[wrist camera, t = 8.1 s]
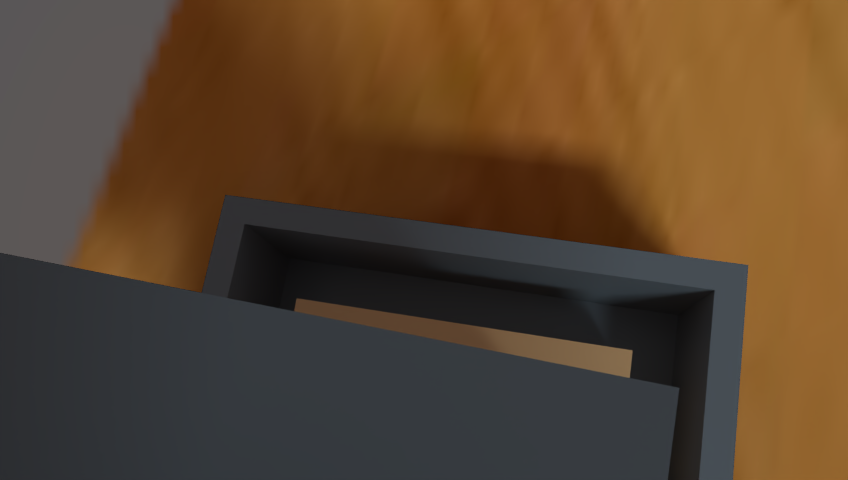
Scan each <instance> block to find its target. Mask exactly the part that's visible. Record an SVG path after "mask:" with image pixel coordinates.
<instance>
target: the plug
mask: <svg viewBox="0 0 848 480" xmlns="http://www.w3.org/2000/svg"><path fill="white" fill-rule="evenodd" d="M678 395H679V388H678V387H673V386H668V385H663V384H658V383H653V382H648V381H643V380H638V379H633V378H627V377H622V376H617V375H612V374H607V373H602V372H597V371H592V370H587V369H582V368H577V367H572V366H567V365H562V364H557V363H552V362H547V361H542V360H537V359H532V358H527V357H522V356H517V355H512V354H507V353H502V352H497V351H492V350H487V349H482V348H476V347H471V346H466V345H461V344H456V343H451V342H446V341H441V340H436V339H431V338H426V337H421V336H416V335H411V334H406V333H401V332H396V331H391V330H386V329H381V328H376V327H371V326H366V325H361V324H356V323H351V322H346V321H341V320H336V319H331V318H325V317H320V316H315V315H310V314H305V313H300V312H295V311H290V310H285V309H280V308H275V307H270V306H265V305H260V304H255V303H250V302H245V301H240V300H235V299H230V298H225V297H220V296H215V295H210V294H205V293H200V292H195V291H190V290H185V289H180V288H175V287H169V286H164V285H159V284H154V283H149V282H144V281H139V280H134V279H129V278H124V277H119V276H114V275H109V274H104V273H99V272H94V271H89V270H84V269H79V268H74V267H69V266H64V265H59V264H54V263H48V262H43V261H38V260H34V259H29V258H24V257H18V256H13V255H8V254H3V253H0V480H668V473H669V466H670V458H671V450H672V442H673V434H674V426H675V419H676V411H677V403H678Z"/></svg>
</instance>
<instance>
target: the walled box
mask: <svg viewBox="0 0 848 480" xmlns="http://www.w3.org/2000/svg"><path fill="white" fill-rule="evenodd" d="M747 274H748V265H743V264H736V263H728V262H721V261H713V260H706V259H698V258H691V257H683V256H676V255H669V254H661V253H654V252H646V251H639V250H631V249H624V248H617V247H609V246H602V245H594V244H587V243H579V242H572V241H564V240H557V239H550V238H542V237H535V236H527V235H520V234H512V233H505V232H498V231H490V230H483V229H475V228H468V227H460V226H453V225H445V224H438V223H431V222H423V221H416V220H408V219H401V218H393V217H386V216H379V215H371V214H364V213H356V212H349V211H341V210H334V209H326V208H319V207H312V206H304V205H297V204H289V203H282V202H274V201H267V200H260V199H252V198H245V197H237V196H230V195H225V199H224V203H223V207H222V211H221V215H220V219H219V223H218V227H217V232H216V236H215V240H214V244H213V248H212V252H211V256H210V260H209V265H208V269H207V273H206V277H205V281H204V285H203V289H202V293H205V294H210V295H215V296H220V297H225V298H230V299H235V300H240V301H245V302H250V303H255V304H260V305H265V306H270V307H275V308H280V309H285V310H290V311H295V312H300V313H305V314H310V315H315V316H320V317H325V318H331V319H336V320H341V321H346V322H351V323H356V324H361V325H366V326H371V327H376V328H381V329H386V330H391V331H396V332H401V333H406V334H411V335H416V336H421V337H426V338H431V339H436V340H441V341H446V342H451V343H456V344H461V345H466V346H471V347H476V348H482V349H487V350H492V351H497V352H502V353H507V354H512V355H517V356H522V357H527V358H532V359H537V360H542V361H547V362H552V363H557V364H562V365H567V366H572V367H577V368H582V369H587V370H592V371H597V372H602V373H607V374H612V375H617V376H622V377H627V378H633V379H638V380H643V381H648V382H653V383H658V384H663V385H668V386H673V387H678V388H679V395H678V403H677V411H676V419H675V426H674V434H673V442H672V450H671V458H670V466H669V473H668V480H733V468H734V454H735V441H736V427H737V413H738V399H739V385H740V371H741V357H742V344H743V330H744V316H745V302H746V288H747Z"/></svg>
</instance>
